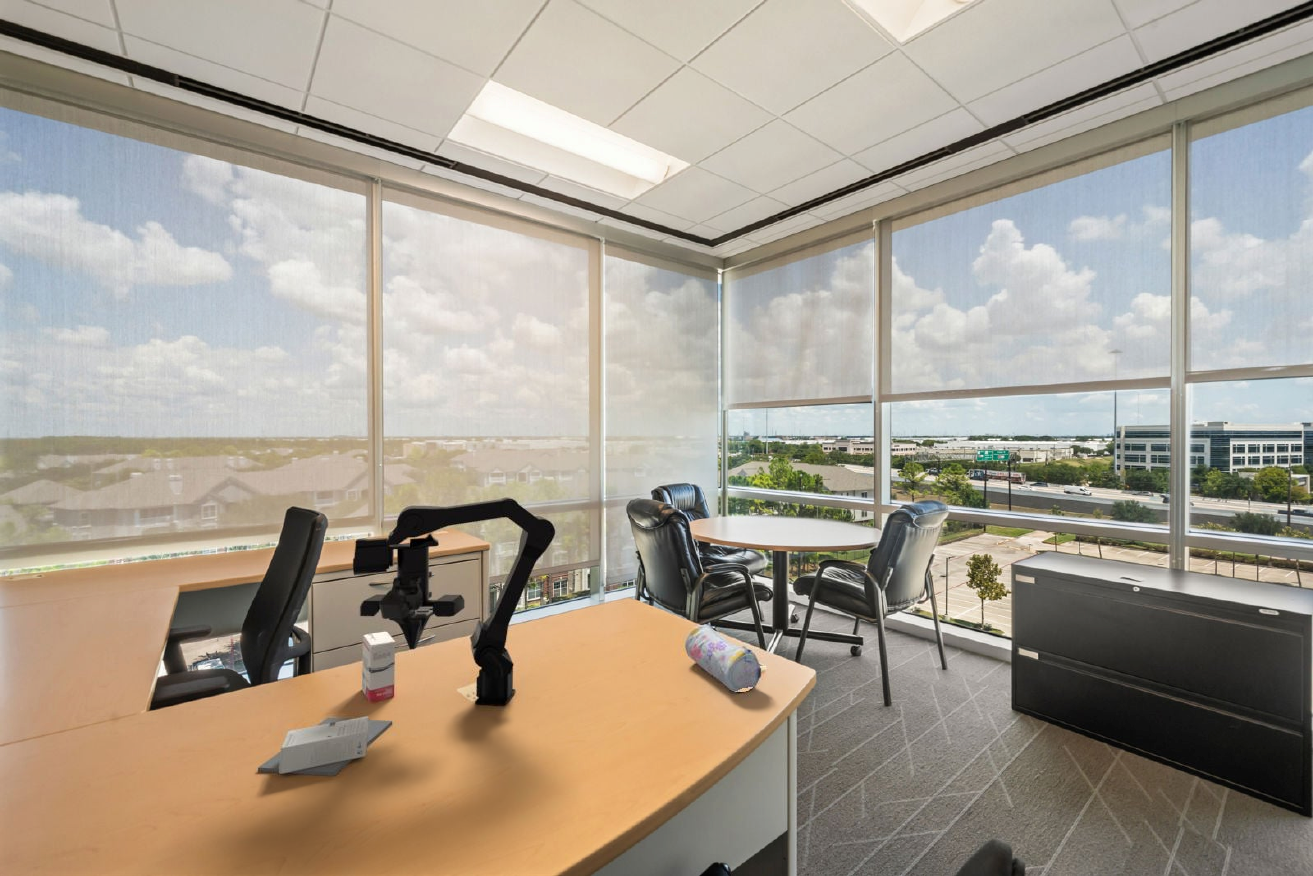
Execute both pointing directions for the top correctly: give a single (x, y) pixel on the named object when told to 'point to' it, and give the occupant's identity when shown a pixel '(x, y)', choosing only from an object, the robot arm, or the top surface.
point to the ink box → (378, 666)
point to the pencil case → (723, 658)
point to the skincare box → (324, 744)
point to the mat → (331, 769)
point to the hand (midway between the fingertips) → (413, 648)
